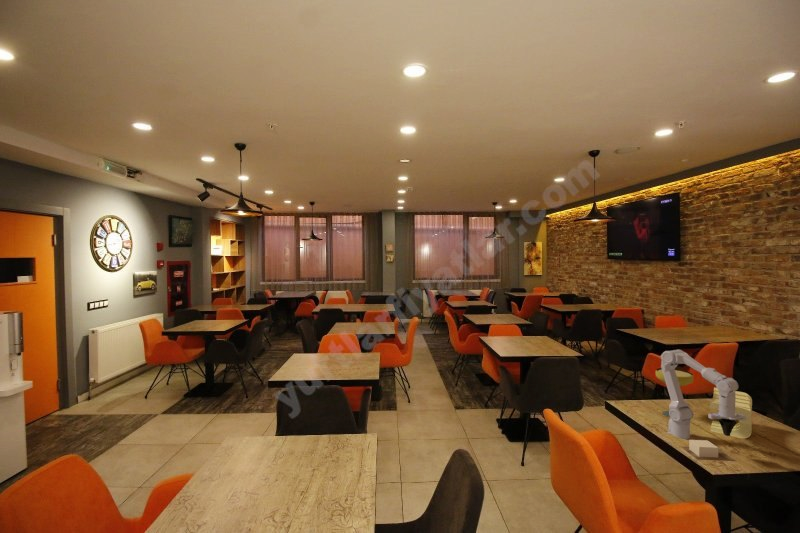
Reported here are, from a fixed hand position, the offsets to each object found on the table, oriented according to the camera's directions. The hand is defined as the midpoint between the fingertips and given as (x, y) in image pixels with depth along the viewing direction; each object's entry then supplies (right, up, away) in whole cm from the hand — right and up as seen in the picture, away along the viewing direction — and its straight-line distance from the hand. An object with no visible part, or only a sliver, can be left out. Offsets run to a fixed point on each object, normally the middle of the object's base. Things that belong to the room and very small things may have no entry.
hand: (726, 434), depth 178 cm
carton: (-6, -7, +1) cm, 9 cm away
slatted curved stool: (+25, -10, +27) cm, 38 cm away
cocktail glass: (+10, -10, +48) cm, 50 cm away
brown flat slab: (-8, -10, +1) cm, 13 cm away
